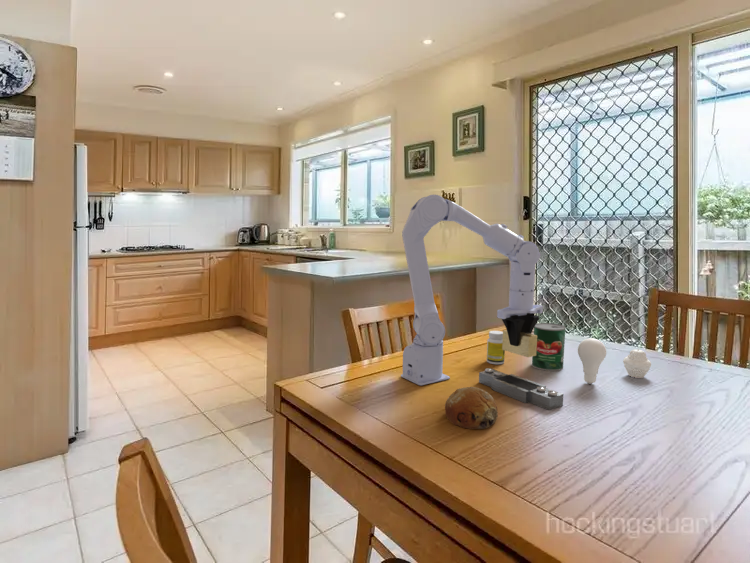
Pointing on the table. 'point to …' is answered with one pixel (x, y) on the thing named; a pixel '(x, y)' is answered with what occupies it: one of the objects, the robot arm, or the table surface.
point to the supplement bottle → (495, 348)
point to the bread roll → (471, 408)
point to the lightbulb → (591, 357)
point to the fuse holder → (521, 389)
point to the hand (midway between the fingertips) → (519, 344)
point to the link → (521, 344)
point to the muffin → (637, 364)
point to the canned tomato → (549, 346)
